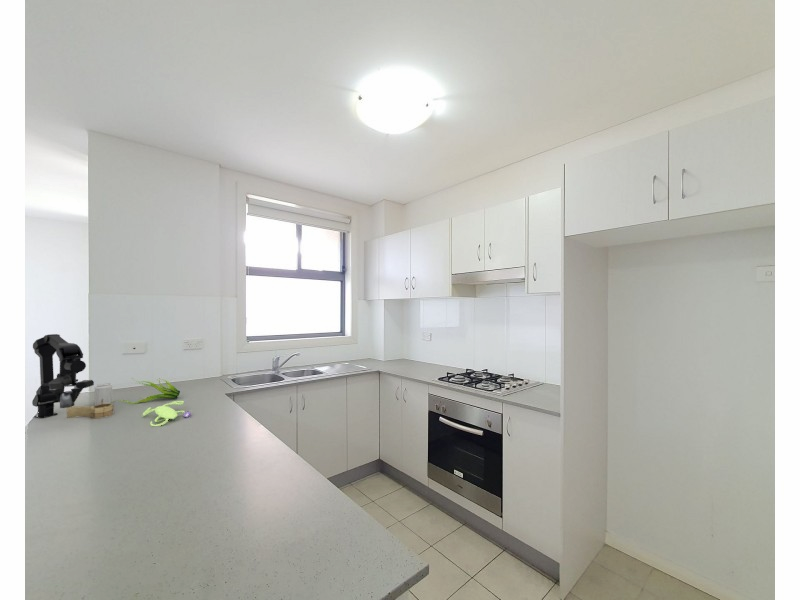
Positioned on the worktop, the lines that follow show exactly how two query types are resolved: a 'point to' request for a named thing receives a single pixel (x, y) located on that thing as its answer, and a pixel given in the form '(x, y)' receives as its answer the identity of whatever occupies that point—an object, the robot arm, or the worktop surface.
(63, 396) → the hinge pin
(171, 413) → the figurine
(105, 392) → the can
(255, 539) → the worktop surface
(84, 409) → the hinge
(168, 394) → the decorative plant
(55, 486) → the worktop surface
